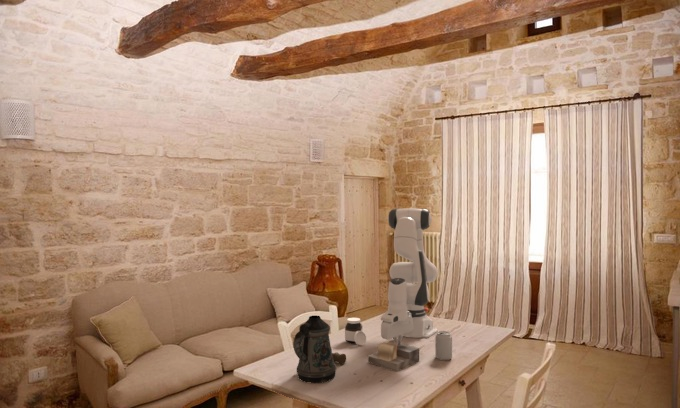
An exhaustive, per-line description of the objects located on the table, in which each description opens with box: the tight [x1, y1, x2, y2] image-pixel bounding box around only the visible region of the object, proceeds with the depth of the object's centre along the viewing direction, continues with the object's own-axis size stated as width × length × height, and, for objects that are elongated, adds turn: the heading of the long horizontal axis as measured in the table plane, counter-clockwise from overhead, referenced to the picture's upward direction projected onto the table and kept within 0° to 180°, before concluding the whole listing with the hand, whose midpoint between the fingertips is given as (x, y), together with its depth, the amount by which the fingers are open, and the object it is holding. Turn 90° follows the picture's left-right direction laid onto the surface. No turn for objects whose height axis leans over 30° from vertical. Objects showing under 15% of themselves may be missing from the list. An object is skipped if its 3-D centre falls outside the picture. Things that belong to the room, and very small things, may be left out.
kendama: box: [331, 348, 347, 366], centre depth 219 cm, size 6×10×20 cm
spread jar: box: [344, 317, 367, 346], centre depth 244 cm, size 12×11×12 cm
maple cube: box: [377, 341, 397, 361], centre depth 212 cm, size 6×6×6 cm
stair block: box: [367, 340, 420, 372], centre depth 215 cm, size 17×16×6 cm
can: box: [434, 330, 453, 361], centre depth 220 cm, size 8×8×12 cm
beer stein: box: [292, 315, 337, 384], centre depth 198 cm, size 16×19×25 cm
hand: (397, 344), depth 217 cm, fingers closed
